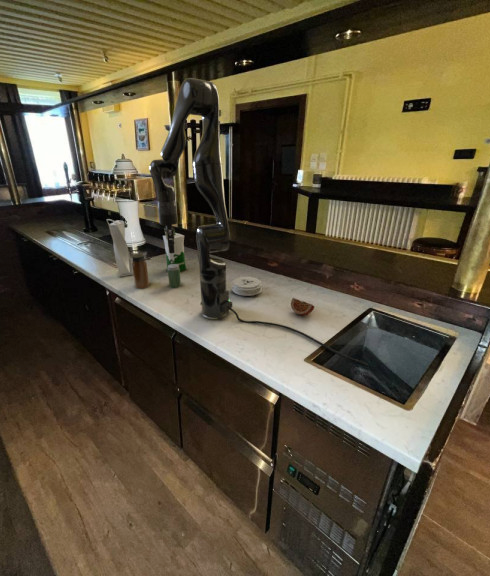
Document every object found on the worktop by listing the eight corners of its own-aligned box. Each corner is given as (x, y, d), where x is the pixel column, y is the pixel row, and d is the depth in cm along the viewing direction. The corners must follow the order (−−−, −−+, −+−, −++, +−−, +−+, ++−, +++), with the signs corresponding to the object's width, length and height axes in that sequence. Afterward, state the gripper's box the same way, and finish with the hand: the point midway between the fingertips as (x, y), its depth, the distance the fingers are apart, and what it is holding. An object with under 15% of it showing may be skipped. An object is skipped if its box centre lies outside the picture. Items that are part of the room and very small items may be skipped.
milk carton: (178, 265, 160) (175, 228, 152) (188, 269, 154) (186, 231, 146) (164, 270, 155) (160, 231, 147) (175, 274, 149) (171, 234, 140)
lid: (238, 283, 136) (238, 273, 134) (265, 287, 131) (266, 276, 129) (227, 294, 126) (227, 284, 124) (256, 299, 121) (257, 288, 118)
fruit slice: (286, 311, 111) (287, 299, 109) (297, 305, 115) (298, 294, 113) (306, 320, 105) (307, 308, 103) (317, 314, 109) (318, 301, 106)
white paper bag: (117, 277, 148) (106, 221, 137) (116, 272, 155) (106, 217, 144) (134, 274, 151) (125, 218, 139) (132, 269, 158) (124, 215, 146)
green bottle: (183, 284, 138) (181, 264, 134) (175, 288, 134) (173, 268, 130) (174, 281, 141) (172, 262, 137) (166, 286, 137) (164, 266, 133)
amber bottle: (152, 284, 139) (148, 254, 133) (142, 289, 134) (137, 258, 128) (142, 281, 142) (138, 252, 136) (132, 286, 138) (127, 256, 132)
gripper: (178, 214, 117) (181, 254, 124) (175, 208, 130) (178, 244, 137) (158, 216, 116) (163, 256, 123) (158, 209, 129) (162, 246, 136)
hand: (171, 250), depth 130 cm, fingers open, 8 cm apart
